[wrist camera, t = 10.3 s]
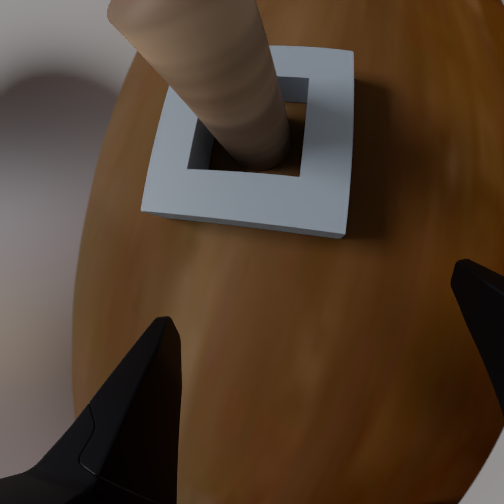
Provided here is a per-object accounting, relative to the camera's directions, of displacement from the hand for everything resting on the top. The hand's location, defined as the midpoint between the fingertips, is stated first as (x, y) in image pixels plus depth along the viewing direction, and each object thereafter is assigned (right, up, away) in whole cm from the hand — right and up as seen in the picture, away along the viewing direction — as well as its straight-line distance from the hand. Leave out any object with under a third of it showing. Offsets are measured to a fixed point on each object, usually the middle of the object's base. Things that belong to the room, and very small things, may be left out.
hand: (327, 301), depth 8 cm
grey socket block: (-2, +8, +10) cm, 13 cm away
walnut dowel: (-2, +8, +10) cm, 13 cm away
